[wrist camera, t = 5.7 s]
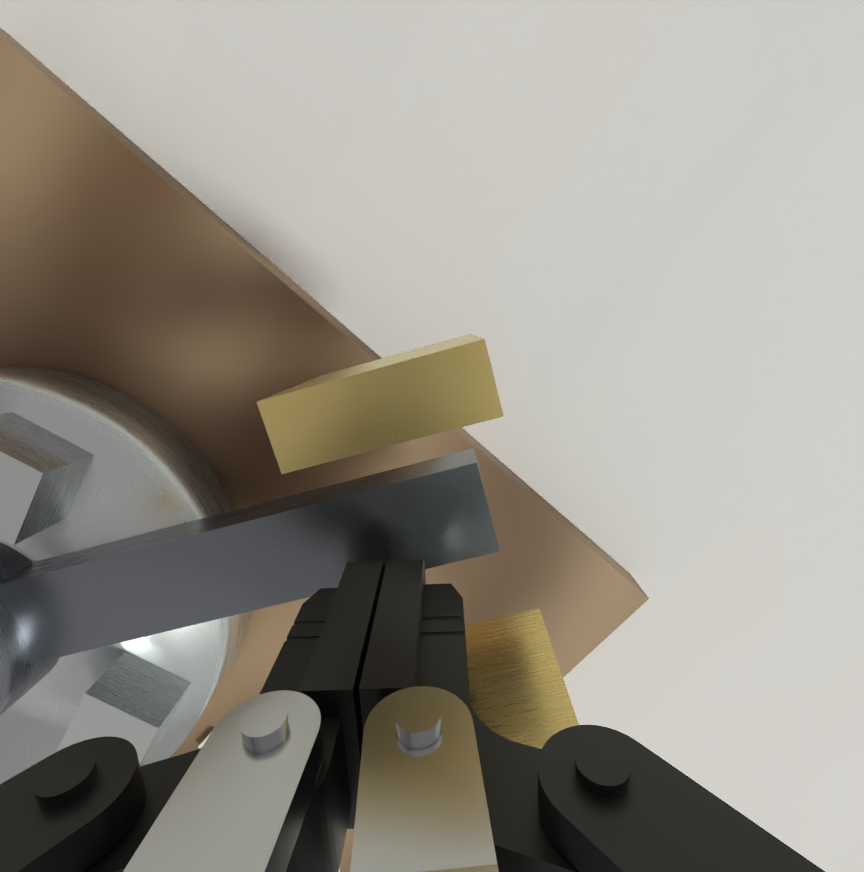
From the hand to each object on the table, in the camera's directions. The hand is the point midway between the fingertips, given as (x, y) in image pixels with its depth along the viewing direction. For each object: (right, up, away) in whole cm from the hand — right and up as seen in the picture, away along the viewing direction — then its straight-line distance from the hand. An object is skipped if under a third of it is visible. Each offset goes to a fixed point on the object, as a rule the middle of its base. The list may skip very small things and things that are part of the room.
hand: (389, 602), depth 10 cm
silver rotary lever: (-7, 0, +5) cm, 8 cm away
